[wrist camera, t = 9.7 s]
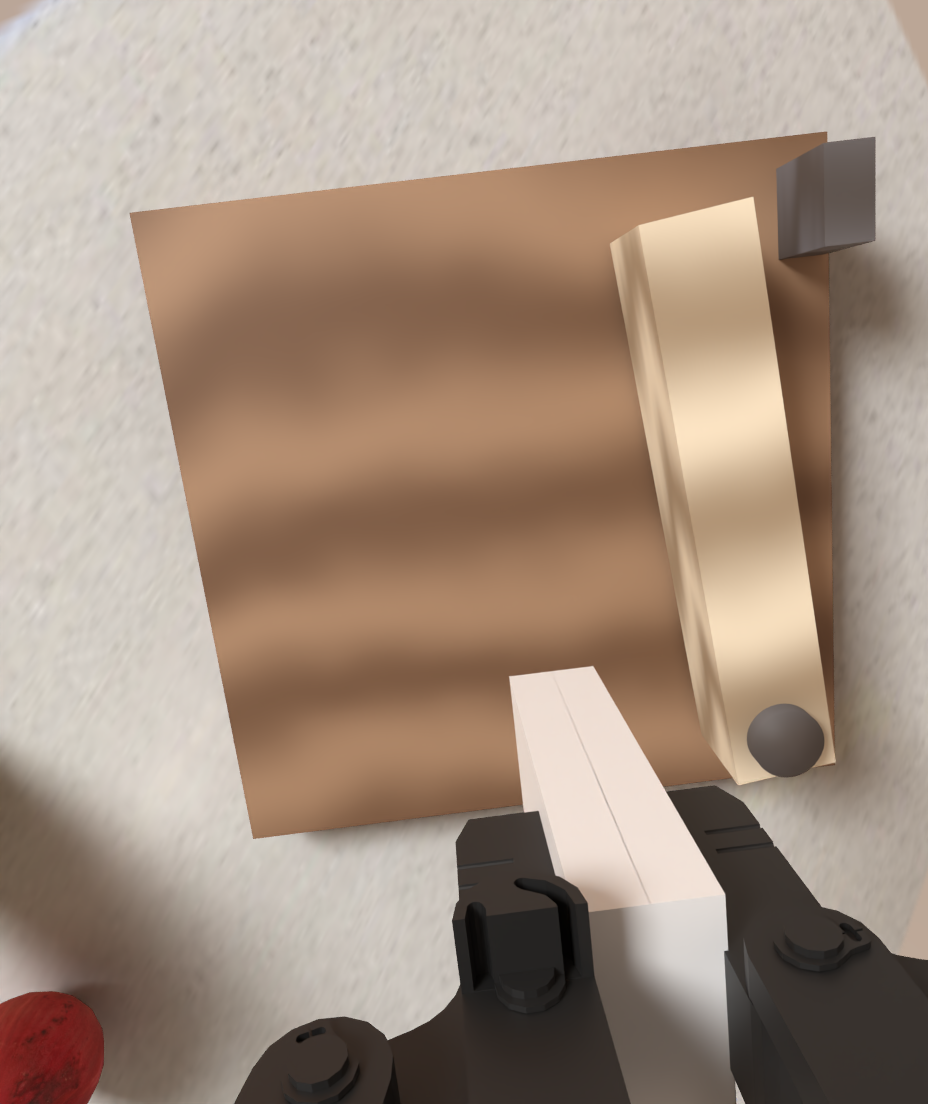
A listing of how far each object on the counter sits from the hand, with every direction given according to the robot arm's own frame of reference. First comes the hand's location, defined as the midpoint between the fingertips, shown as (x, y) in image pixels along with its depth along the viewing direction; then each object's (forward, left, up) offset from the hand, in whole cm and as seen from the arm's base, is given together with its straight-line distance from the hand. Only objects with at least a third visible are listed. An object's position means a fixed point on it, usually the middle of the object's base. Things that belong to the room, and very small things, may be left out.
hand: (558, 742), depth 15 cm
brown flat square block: (+1, -1, -20) cm, 20 cm away
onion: (-20, +22, -20) cm, 36 cm away
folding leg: (+1, -8, -16) cm, 18 cm away
